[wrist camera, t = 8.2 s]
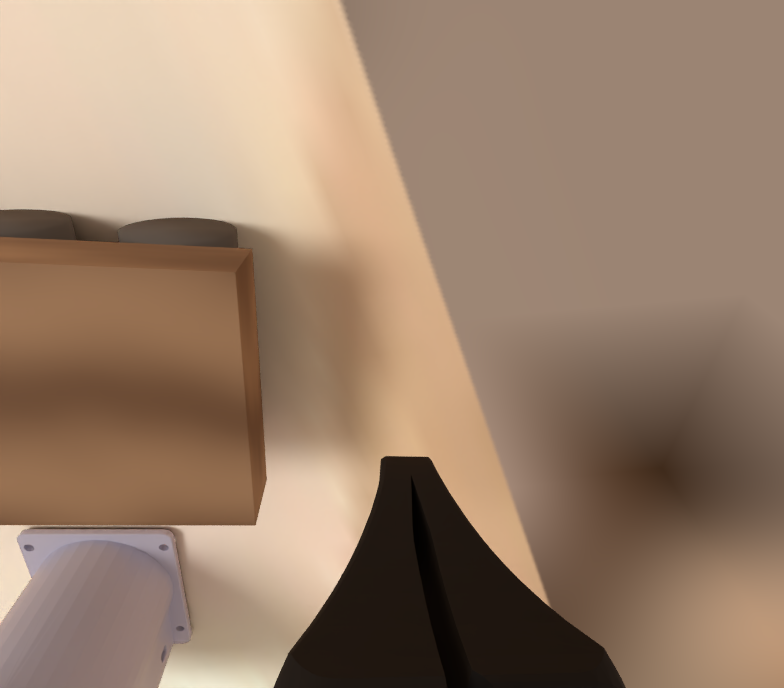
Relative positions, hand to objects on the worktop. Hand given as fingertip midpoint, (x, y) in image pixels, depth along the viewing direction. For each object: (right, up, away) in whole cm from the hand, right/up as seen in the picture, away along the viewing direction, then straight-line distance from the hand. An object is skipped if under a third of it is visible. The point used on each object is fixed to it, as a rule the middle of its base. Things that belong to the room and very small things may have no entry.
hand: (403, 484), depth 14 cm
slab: (-12, +3, +4) cm, 13 cm away
